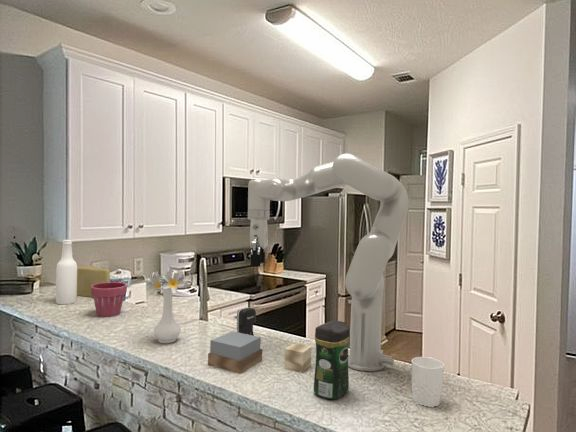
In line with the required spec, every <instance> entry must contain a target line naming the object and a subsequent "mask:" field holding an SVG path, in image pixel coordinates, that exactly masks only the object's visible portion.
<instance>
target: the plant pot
mask: <svg viewBox="0 0 576 432" xmlns="http://www.w3.org/2000/svg"><path fill="white" fill-rule="evenodd" d="M127 290H128V289H127V283H125V282H121V281H120V282H119V281H110V282H104V283H97V284H94V285H92V286H91V295H92V296H93V297H94V298H93V302H94V303H93V304H94V307H95V310H96V315H97V317H102V318H110V317H115V316H118V315H120V314H121V310H122V306H123V303H124V298H125V294H127Z"/></svg>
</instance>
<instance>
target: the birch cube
mask: <svg viewBox="0 0 576 432" xmlns="http://www.w3.org/2000/svg"><path fill="white" fill-rule="evenodd" d="M310 367H312V346H310V345H305V344H300V343H296V342H295V343H292V344H290V345H289V346H287V347H286V348H285V349H284V369H285V370H290V371H293V372H294V371H295V372H299V373H302V374H303V373H304V372H305V371H306V370H308V369H309V368H310Z"/></svg>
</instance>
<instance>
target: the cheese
mask: <svg viewBox="0 0 576 432" xmlns="http://www.w3.org/2000/svg"><path fill="white" fill-rule="evenodd" d="M104 282H111V270H110V269H108V268H102V267H101V268H100V267H98V266H95V265H84V266H77V297H78V296H81V297H87V298H93V299H94V297H93V296H92V295H91V286H92V285H94V284H97V283H104Z"/></svg>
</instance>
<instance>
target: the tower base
mask: <svg viewBox="0 0 576 432" xmlns="http://www.w3.org/2000/svg"><path fill="white" fill-rule="evenodd" d="M262 361H263V349H262V348H260V350H259V351H257V352H255V353H254V354H252V355H250V356H248V357H246V358H244V359H243V360H241V361H238V360H234V359H230V358H226V357H222V356H218V355H215V354H211V353H210V352H208V354H207V366H209V367H213V368H218V369H222V370H224V371H225V370H226V371H229V372H233V373H238V374H243V373H244V372H246V371H248V370H249V369H250V368H252V367H253V366H255V365H257V364H258V363H260V362H262Z"/></svg>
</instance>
